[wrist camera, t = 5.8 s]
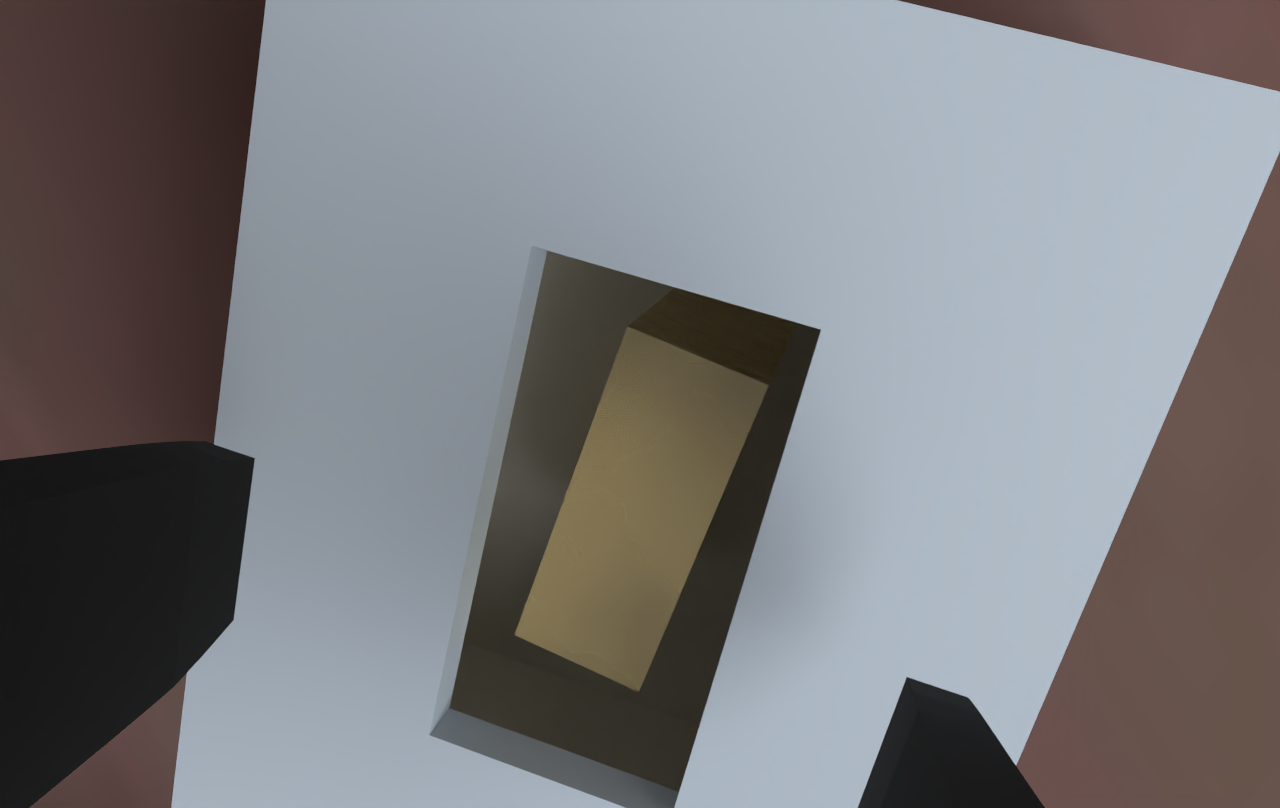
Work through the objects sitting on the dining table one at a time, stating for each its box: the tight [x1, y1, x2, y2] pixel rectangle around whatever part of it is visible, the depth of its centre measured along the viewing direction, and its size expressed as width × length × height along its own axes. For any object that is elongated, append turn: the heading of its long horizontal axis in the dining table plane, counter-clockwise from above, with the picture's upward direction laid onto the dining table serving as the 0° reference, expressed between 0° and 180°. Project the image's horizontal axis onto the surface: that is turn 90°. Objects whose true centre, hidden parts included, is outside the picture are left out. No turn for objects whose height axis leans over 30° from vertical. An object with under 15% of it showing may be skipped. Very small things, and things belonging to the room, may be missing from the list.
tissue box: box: [171, 0, 1280, 808], centre depth 16 cm, size 14×11×7 cm
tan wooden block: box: [515, 288, 797, 692], centre depth 17 cm, size 5×2×5 cm, turn 160°
